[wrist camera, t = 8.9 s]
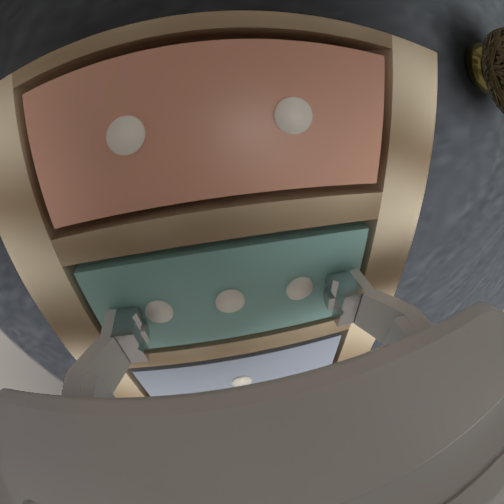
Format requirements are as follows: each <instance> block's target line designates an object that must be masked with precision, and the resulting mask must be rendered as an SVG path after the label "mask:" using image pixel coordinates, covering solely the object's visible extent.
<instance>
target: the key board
mask: <svg viewBox="0 0 504 504" xmlns="http://www.w3.org/2000/svg"><path fill="white" fill-rule="evenodd" d="M225 39H279V40H294V41H305V42H314V43H322V44H329V45H335V46H341V47H347V48H352V49H357V50H361V51H366V52H370V53H374V54H378V55H382V56H384V62H385V84H384V112H383V128H382V140H381V151H380V160H379V168H378V176H377V183H372V184H352V185H336V186H322V187H310V188H298V189H288V190H278V191H268V192H259V193H251V194H242V195H234V196H227V197H219V198H212V199H205V200H199V201H192V202H186V203H179V204H173V205H167V206H161V207H156V208H150V209H145V210H139V211H134V212H129V213H124V214H119V215H114V216H109V217H104V218H100V219H95V220H91V221H86V222H82V223H77V224H73V225H69V226H65V227H61V228H57V229H54V226H53V224H52V221H51V218H50V215H49V213H48V210H47V207H46V204H45V201H44V197H43V194H42V191H41V188H40V184H39V181H38V177H37V173H36V169H35V165H34V161H33V157H32V153H31V148H30V143H29V138H28V133H27V127H26V121H25V114H24V106H23V97H22V94H24V93H26V92H28V91H30V90H32V89H34V88H36V87H38V86H40V85H42V84H44V83H47V82H49V81H51V80H53V79H56V78H58V77H60V76H63V75H65V74H68V73H70V72H73V71H75V70H78V69H81V68H83V67H86V66H89V65H92V64H95V63H98V62H101V61H105V60H108V59H111V58H115V57H118V56H122V55H126V54H130V53H134V52H138V51H143V50H148V49H152V48H158V47H163V46H169V45H175V44H182V43H190V42H199V41H210V40H225ZM437 76H438V69H437V52H434V51H432V50H430V49H428V48H425V47H423V46H421V45H418V44H416V43H413V42H411V41H408V40H405V39H403V38H400V37H397V36H394V35H391V34H388V33H385V32H382V31H379V30H375V29H372V28H368V27H365V26H361V25H357V24H353V23H349V22H344V21H340V20H335V19H329V18H324V17H318V16H311V15H304V14H296V13H286V12H274V11H247V10H239V11H212V12H199V13H190V14H181V15H174V16H168V17H162V18H156V19H151V20H146V21H142V22H137V23H133V24H129V25H125V26H121V27H118V28H114V29H111V30H108V31H104V32H101V33H98V34H95V35H92V36H89V37H87V38H84V39H81V40H79V41H76V42H73V43H71V44H68V45H66V46H64V47H61V48H59V49H57V50H55V51H52V52H50V53H48V54H46V55H44V56H42V57H40V58H38V59H36V60H34V61H32V62H30V63H29V64H27V65H25V66H23V67H21V68H20V69H18V70H16V71H14V72H13V73H11V74H10V75H8V76H6V77H5V78H3V79H2V80H0V236H1V238H2V241H3V243H4V245H5V247H6V249H7V252H8V254H9V256H10V258H11V260H12V262H13V264H14V266H15V268H16V270H17V272H18V274H19V276H20V277H21V279H22V281H23V283H24V285H25V286H26V288H27V290H28V292H29V293H30V295H31V297H32V298H33V300H34V302H35V303H36V305H37V306H38V308H39V310H40V311H41V313H42V314H43V316H44V317H45V319H46V320H47V322H48V323H49V325H50V326H51V328H52V329H53V330H54V332H55V333H56V335H57V336H58V337H59V339H60V340H61V341H62V343H63V344H64V345H65V347H66V348H67V349H68V350H69V352H70V353H71V354H72V355H73V357H74V358H75V359H76V360H78V358H79V357H80V356H81V355H82V354H83V353H84V352H85V351H86V350H87V348H88V347H89V346H90V345H91V344H92V343H93V342H94V341H95V340H96V339H97V338H100V334H101V330H102V326H101V324H100V322H99V321H98V319H97V317H96V315H95V314H94V312H93V310H92V308H91V307H90V305H89V303H88V301H87V299H86V297H85V295H84V293H83V292H82V290H81V288H80V286H79V284H78V282H77V280H76V278H75V276H74V272H75V269H76V267H77V265H78V264H80V263H86V262H92V261H97V260H103V259H109V258H115V257H121V256H127V255H133V254H139V253H145V252H151V251H157V250H163V249H170V248H176V247H182V246H189V245H195V244H201V243H208V242H214V241H221V240H228V239H234V238H241V237H248V236H255V235H262V234H269V233H276V232H283V231H290V230H297V229H304V228H312V227H319V226H327V225H334V224H342V223H349V222H357V221H362V222H363V223H364V224H365V225H366V226H367V227H368V228H369V231H368V236H367V240H366V245H365V250H364V254H363V259H362V263H361V267H360V271H361V273H362V274H363V275H364V276H365V278H366V279H367V280H368V281H369V283H370V284H371V285H372V286H373V288H374V289H375V290H380V291H382V292H384V293H387V294H389V295H391V296H394V294H395V291H396V288H397V286H398V283H399V280H400V277H401V274H402V271H403V268H404V265H405V262H406V259H407V256H408V253H409V250H410V247H411V243H412V240H413V236H414V233H415V229H416V225H417V222H418V218H419V214H420V210H421V205H422V201H423V197H424V192H425V187H426V182H427V177H428V171H429V165H430V159H431V153H432V146H433V138H434V129H435V118H436V105H437ZM337 332H340V333H341V339H340V342H339V345H338V348H337V351H336V353H335V356H334V359H333V362H332V364H333V363H337V362H340V361H343V360H346V359H349V358H352V357H355V356H358V355H361V354H364V353H367V352H369V351H370V349H371V347H372V345H373V343H374V341H375V339H376V338H374V337H373V336H371V335H370V334H368V333H367V332H365V331H364V330H362V329H361V328H359V327H358V326H357V325H355V324H354V323H351V324H348V325H344V326H340V327H337V325H336V324H335V322H334V320H333V318H332V316H331V317H327V318H323V319H319V320H315V321H310V322H306V323H302V324H297V325H293V326H288V327H284V328H279V329H274V330H270V331H265V332H259V333H254V334H249V335H243V336H238V337H232V338H226V339H220V340H214V341H207V342H200V343H193V344H186V345H178V346H170V347H161V348H152V349H149V361H147V362H138V363H131V365H130V367H129V368H128V370H127V372H126V373H125V375H124V376H123V378H122V380H121V381H120V383H119V385H118V386H117V388H116V389H115V391H114V393H113V395H114V396H115V397H116V398H123V397H150V395H149V394H148V393H147V391H146V390H145V389H144V387H143V386H142V385H141V383H140V382H139V381H138V380H137V378H136V377H135V375H134V374H133V373H132V368H141V367H153V366H164V365H173V364H182V363H190V362H198V361H205V360H212V359H218V358H224V357H230V356H236V355H242V354H247V353H252V352H258V351H263V350H267V349H272V348H277V347H281V346H286V345H290V344H294V343H299V342H303V341H307V340H311V339H315V338H319V337H322V336H326V335H330V334H333V333H337Z"/></svg>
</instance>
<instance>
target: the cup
mask: <svg viewBox="0 0 504 504" xmlns="http://www.w3.org/2000/svg"><path fill="white" fill-rule="evenodd" d="M466 66H467V71H468V74H469V77H470V79H471V81H472V82H473V84H474V85H475V86H476V87H477V88H478V89H479V90H480V91H482V92H483V93H485V94H490V95H491V97H492V99H493V101H494V102H495V104H496V105H497V107H498V108H499V109H500V110H501V112H502V113H503V114H504V27H503V28H498V29H495V30H493V31H492V32H490V33H489V34H488V35H487V37H486V38H485V40H484V43H480V42H476V43H473V44H471V45H470V46H469V47H468V49H467V51H466Z"/></svg>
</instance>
